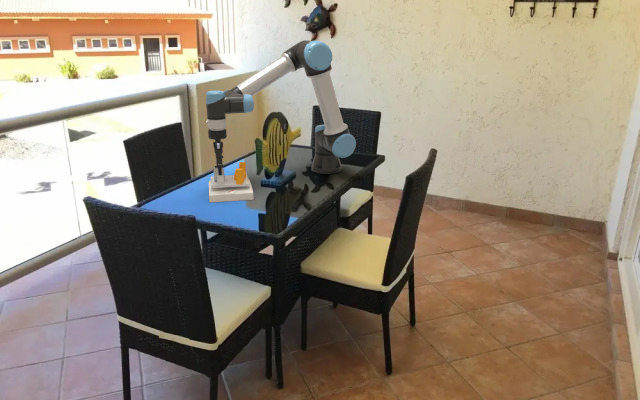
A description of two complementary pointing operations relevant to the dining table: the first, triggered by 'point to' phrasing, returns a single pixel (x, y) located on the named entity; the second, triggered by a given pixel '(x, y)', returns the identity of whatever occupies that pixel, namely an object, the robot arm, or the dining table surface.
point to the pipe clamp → (240, 173)
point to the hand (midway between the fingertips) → (220, 177)
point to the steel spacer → (216, 175)
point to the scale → (230, 190)
